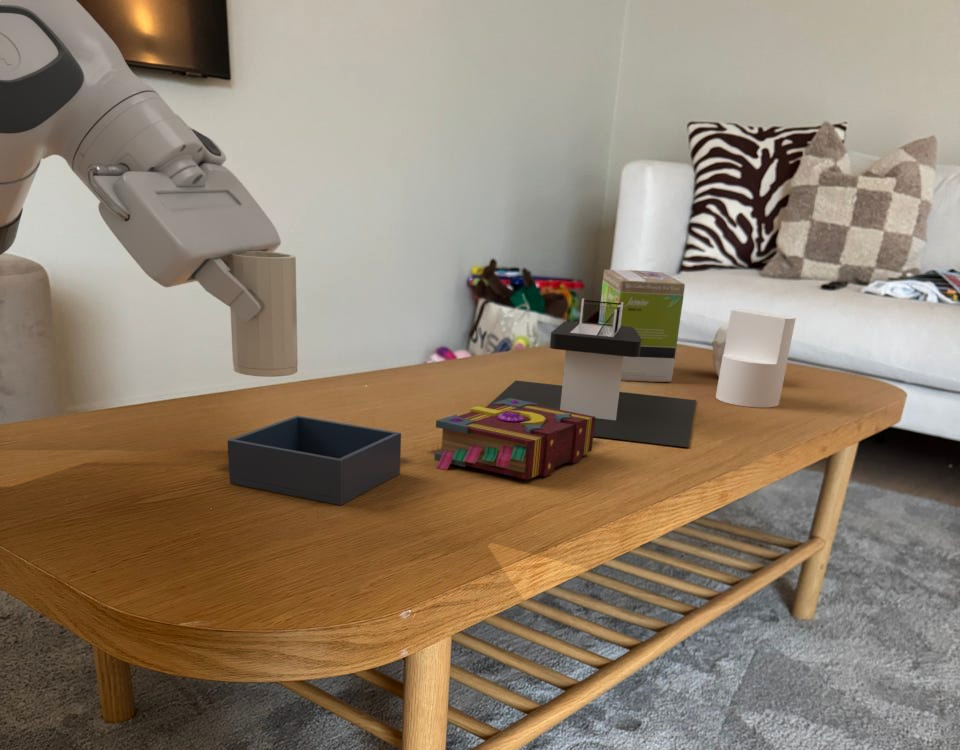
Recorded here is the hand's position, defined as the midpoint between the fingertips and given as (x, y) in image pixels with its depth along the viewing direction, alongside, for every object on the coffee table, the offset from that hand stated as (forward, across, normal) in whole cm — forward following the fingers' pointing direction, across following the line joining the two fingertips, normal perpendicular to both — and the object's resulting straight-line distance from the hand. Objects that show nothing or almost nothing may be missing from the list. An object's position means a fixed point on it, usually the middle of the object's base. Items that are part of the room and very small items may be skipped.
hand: (271, 310), depth 77 cm
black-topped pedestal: (+30, +50, -6) cm, 58 cm away
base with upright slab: (+45, +67, -22) cm, 83 cm away
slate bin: (+12, +8, +11) cm, 18 cm away
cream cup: (+3, 0, +4) cm, 5 cm away
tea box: (+33, +80, -10) cm, 88 cm away
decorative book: (+25, +22, -1) cm, 33 cm away
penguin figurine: (+46, +83, -23) cm, 98 cm away
